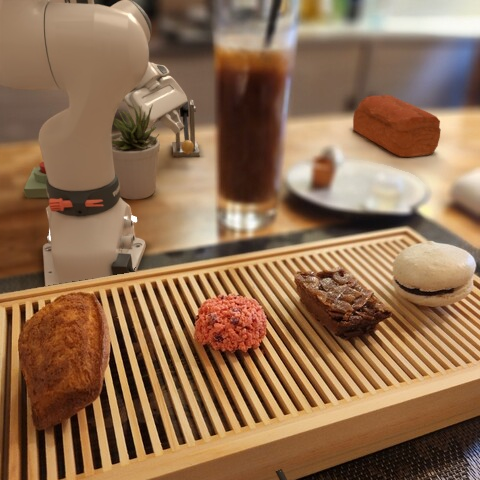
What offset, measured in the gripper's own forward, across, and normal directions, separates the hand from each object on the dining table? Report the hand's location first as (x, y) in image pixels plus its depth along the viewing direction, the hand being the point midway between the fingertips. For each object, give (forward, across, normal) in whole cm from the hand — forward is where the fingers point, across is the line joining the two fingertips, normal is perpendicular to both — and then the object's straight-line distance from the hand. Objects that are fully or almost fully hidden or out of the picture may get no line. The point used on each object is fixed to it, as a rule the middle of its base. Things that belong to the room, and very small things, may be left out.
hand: (180, 130), depth 114 cm
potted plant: (+5, -19, +9) cm, 21 cm away
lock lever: (+1, +6, +3) cm, 6 cm away
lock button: (-11, -24, +19) cm, 32 cm away
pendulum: (+4, +10, +9) cm, 14 cm away
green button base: (-9, -24, +22) cm, 33 cm away
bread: (+41, +46, -28) cm, 68 cm away
